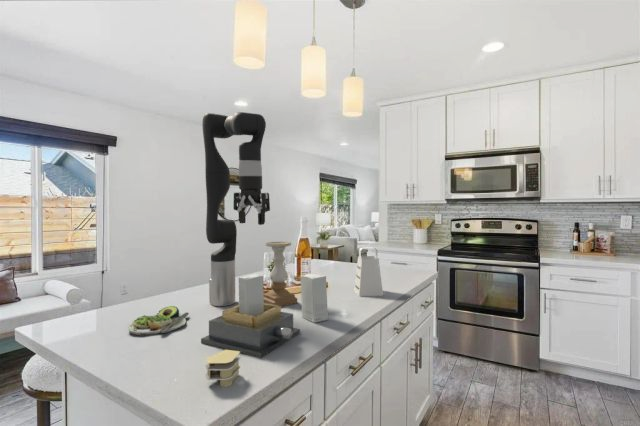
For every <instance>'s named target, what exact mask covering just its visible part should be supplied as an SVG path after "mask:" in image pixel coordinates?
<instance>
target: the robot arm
mask: <svg viewBox="0 0 640 426" xmlns="http://www.w3.org/2000/svg"><path fill="white" fill-rule="evenodd" d="M201 126H202V134H203V135H202V136H203V144H204V155H205V156H204V157H205V158H204V159H205V160H204V161H205V162H204V163H205V166H204V167H205V169H204V170H205V173H204V175H205V187H206V188H205V190H206V191H205V192H206V193H205V194H206V219H205V220H206V222H205V224H206V227H205V234H206V240H207V241H208V243H210V244H212V245H213V244H214V245H215V244H223V245H222V246H221V247H220V248H219V249H218V250H215V251H213V252H212V253H211V254H210V279H208V282H209V283H208V286H209V287H208V289H209V290H208V291H209V292H208V293H209V294H208V295H209V297H208V299H209V303H208V304H210V305H212V306H213V307H226V306H232V305H234V304H235V303H236V254H237V236H238V235H237V225H236V222H235V221H234V220H232V219H219V211H220V210H219V209H220V208H221V205H222V202H223V200H225V197H226V196H227V194H228V192H229V190H230V188H231V175H230V174H231V173H230V169H229V167H228V164H227V162H226V161H225V159H223V156H222V155H221V153H220V152H219V150H218V148H217V145H216V142H215V138H216V139H229V138H231V137H232V136H252V139H251V140H250V141H246V142H241V143H240V144H239V145H238V159H239V162H238V188H239V190H240V192H233V210H234V211H236V212H237V213H238V222H239V224H245V223H246V210H247V208H248V207H249V206H250V207H254V209H256V211H257V212H258V213H257V223H258V226H262V225H265V223H266V213H267V212H270V211H271V204H270V203H271V202H270V194H269V192H262V189H263V167H262V150H261V149H262V143H263V139H264V135H265V131H266V128H267V127H266V126H267V124H266V119H265V117H264V115H262V114H259V113H254V112H253V113H251V112H246V111H245V112H243V111H242V112H241V111H238V112H235V113H234V114H232V115H229V116H227V115H225V114H220V113H219V114H218V113H209V112H208V113H207V112H206V113H204V115H203V117H202V125H201Z"/></svg>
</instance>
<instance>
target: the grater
mask: <svg viewBox="0 0 640 426" xmlns="http://www.w3.org/2000/svg"><path fill="white" fill-rule="evenodd" d="M363 249H374V255H369V256H365V255H364V256H362V250H363ZM379 259H380V258H378V250H377V249H376V248H375V247H374V246H373V247H370V246H369V247H366V246H365V247H360V248H359V249H358V256H357V264H356V271H355V278H354V279H355V281H354V287H353V288H354V289H353V290H354V292H355V293H356V294H357V296H358V297H379V296H380V297H381V296H382V297H383V296H384V292H383V282H382V276H381V267H380V260H379Z"/></svg>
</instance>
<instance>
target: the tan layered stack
mask: <svg viewBox="0 0 640 426" xmlns="http://www.w3.org/2000/svg"><path fill="white" fill-rule="evenodd" d="M239 354H241V353H240V351H233V350H228V349H223V350H222V351H219V352H218V353H215V354H212V355H210V356H209V357H206V359H205V362H206V364H205V369H206V370H207V371H206V374H205V378H206V380H208V381H219V386H221V387H225V388H226V387H230V386H232V384H233V381H234V380H235V378H237V377H238V376H239V375H240V373H239V371H240V369H241V365H240V364H239V361H240V360H241V356H238V355H239Z"/></svg>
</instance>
